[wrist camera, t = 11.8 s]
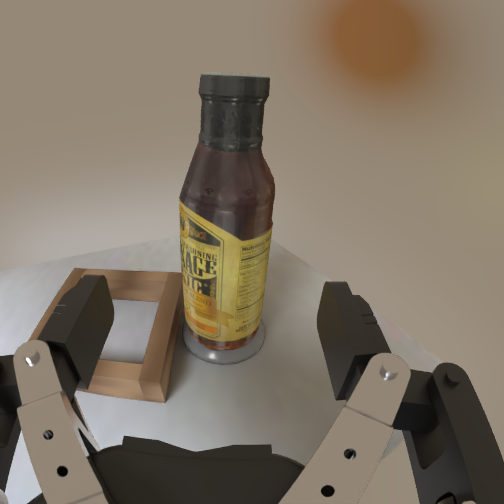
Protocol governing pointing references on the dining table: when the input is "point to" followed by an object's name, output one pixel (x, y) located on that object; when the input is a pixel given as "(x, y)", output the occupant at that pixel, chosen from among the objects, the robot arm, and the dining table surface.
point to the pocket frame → (160, 342)
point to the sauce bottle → (227, 213)
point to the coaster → (224, 355)
